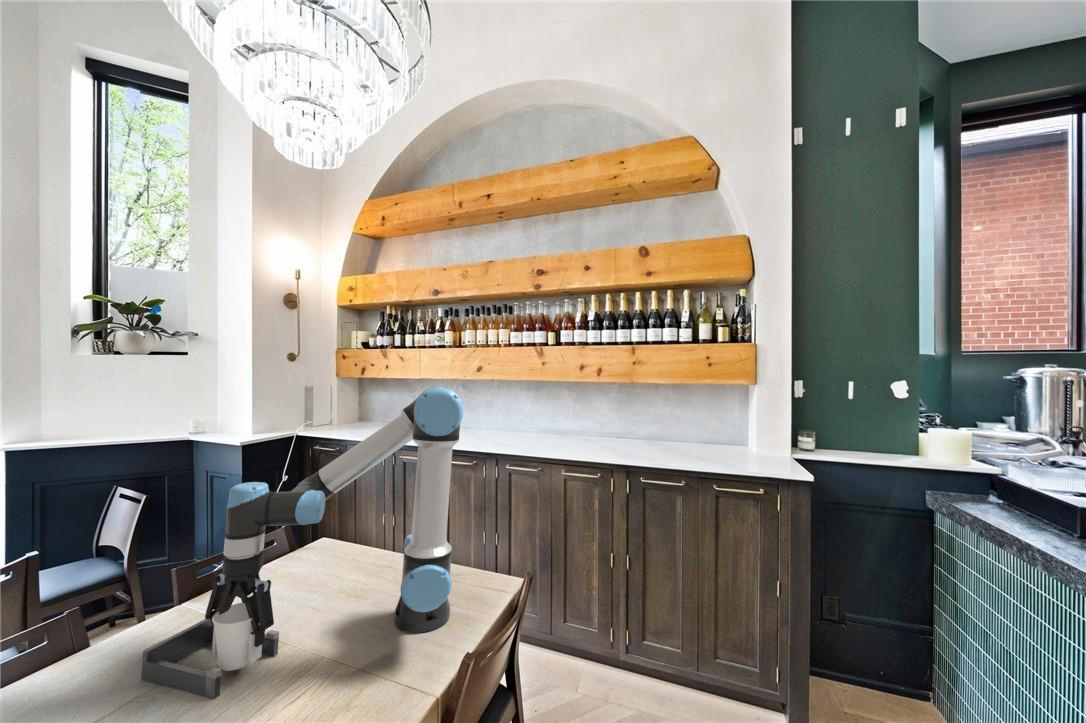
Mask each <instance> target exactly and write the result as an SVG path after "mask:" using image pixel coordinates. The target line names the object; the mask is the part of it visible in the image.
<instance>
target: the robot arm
mask: <svg viewBox="0 0 1086 723" xmlns="http://www.w3.org/2000/svg"><path fill="white" fill-rule="evenodd" d="M463 417H464V407H463V403H462V401H461V399H460V397H459V395H458V394H457V393H456V392H455V391H454V390H452V389H450V388H448V387H442V386H434V387H430V388H427V389H426V390H424V391H422V392H421V393H420V394H419V395H418V396H417V397H416V399H415V400H413V401H412V402H411V403H409V404H408V405H407V406H405V407H404V408H403V409H401V412H400V415H399V416H397V417H396V418H394V419H393V420H391V421H390V422H388V423H387V424H386V425H384V426H382V427H381V428H380V429H378V430H376V431H375V432H373V433H371V435H369V436H367V437H366V438H365V439H363V440H362V441H360V442H359V443H357V444H355V446H353V447H351V448H350V449H348V450H347V451H346V452H344V453H343V454H341V455H340V456H338V457H337V458H335V459H334V460H332V461H331V462H329V463H328V464H326V465H325V466H323V467H322V468H320V469H319V470H318V471H316V472H314V473H313V474H312V475H310V476H308V477H305V478H304V479H303V480H302V481H300V482H298V483H297V485H296V487H294V488H293V489H292V490H289V491H270V489H269V484H268V483H266V482H262V481H260V482H259V481H252V482H251V481H249V482H243V483H239V484H236V485H233V486H232V487H231V488H230V489H229V492H228V500H227V505H226V520H225V521H226V522H225V536H224V546H223V552H222V553H223V555H224V557H223V560H222V571H221V573H220V574H217V575H215V576H213V579H212V590H211V593H210V597H209V600H208V602H207V603H208V604H207V608H206V611H205V614H204V619H210V620H211V623H212V624H213V626H212V637H213V643H211V644H212V647H211V656H217V655H218V654H217V645H216V637H215V630H214V623H213V621H212V618H213V616H214V615H215V614H216V613H217V612H219V615H220V614H223V613H225V612H226V611H228V610H229V609H230V607H231V605H233V603H234V601H235V599H236V597H237V598H239V599H240V601H241V603H245V606H246V609H247V612H248V615H249V619H252V620H251V625H252V628H253V631H252V632H250V636H249V650H248V664H247V665H252V664H253V663H255V662H256V661H257V660H259V659H260V658H262V654H261V652H262V644H263V643H264V636H265V634H266V630H267V629H269V628H271V627H272V626H274V624H275V620H274V619H275V618H274V614H273V613H274V612H273V604H272V596H271V586H272V581H271V580H270V579H267V580H265V581H264V580H261V577H260V572H261V569H262V568H263V565H264V551H263V550H264V548H265V535H266V527H272V526H274V527H275V526H276V527H277V526H296V525H297V526H298V525H299V526H300V525H301V526H306V525H310V524H318V523H320V522H321V521H322V520H323V517H324V514H325V509H326V500H328V499H330V498H331V497H332V496H334V495H335V494H336V493H338V492H340V490H342V489H343V488H345V487H346V486H348V485H349V484H351V483H352V482H354V480H357V479H358V478H359V477H361V476H362V475H364V474H365V473H367V472H368V471H369V470H371V469H372V468H373V467H375V466H376V465H378V464H379V463H381V462H383V461H384V460H385V459H387V458H388V457H389V456H391V455H393V454H394V453H395V452H397V451H398V450H399V449H401V448H402V447H403V446H405V445H407V444H408V443H410V442H411V441H413V442H414V444H416V445H417V457H416V458H417V459H416V460H417V461H416V473H415V485H414V487H415V488H414V498H413V499H414V501H413V512H412V513H413V514H412V525H411V533H410V534H408V535H407V536H406V537H405V538H404V544H403V564H402V573H401V574H402V576H401V584H400V588H399V589H400V596H399V599H398V602H397V605H396V607H395V608H394V614H393V616H394V617H393V623H394V626H395V628H397V629H398V630H401V631H402V632H405V633H410V634H411V633H413V634H419V633H427V632H431V631H434V630H437V629H439V628H440V627H443V626H444V625H446V623H447V622H448V621H449V620H450V618H449V617H451V604H450V601H449V595H450V594H451V593H450V592H451V589H452V585H453V584H452V583H453V582H452V577H451V562H452V549H453V548H452V545H451V544H450V543H449V542H448V540H447V539H448V538H447V533H448V521H449V520H448V517H449V504H450V490H451V475H452V474H451V473H452V462H453V461H452V460H453V448H454V446H455V445H456V444H457V443H458V442H459V441H460V431H461V422H462V421H463ZM258 624H259V625H258Z"/></svg>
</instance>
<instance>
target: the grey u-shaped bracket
mask: <svg viewBox="0 0 1086 723" xmlns="http://www.w3.org/2000/svg"><path fill="white" fill-rule="evenodd" d="M212 626H213V624H212V623H211V620H210V619H205V618H204V619H202V620H200V621H199V622H197V623H195V624H193V625H191V626H189V627H187V628H185V629H183V630H181V631H179V632H178V633H175V634H174V635H171V636H170V637H168V638H165V639H164V640H162V641H159V642H158V643H156V644H154V645H152V646H149V648H146V649H145V650H143V651H142V660H141V674H140V681H143V682H147V683H149V684H150V683H151V684H154V685H159V686H161V687H166V688H170V689H175V690H178V691H181V692H185V693H188V694H192V695H196V696H199V697H200V696H201V697H204V698H207V699H211V700H215V699H217V698H219V697H220V695H221V685H222V684H221V683H222V682H221V681H222V671H223V670H222V669H220V668H219V667H215V666H212V667H210V668H208V669H207V670H202V669H198V668H193V667H190V666H185V665H182V664H177V663H179V662H180V661H182V660H184V659H186V658H188V657H190V656H191V655H193V654H194V653H196V652H198V651H199V650H202V649H203V648H204V647H207V646H208V645H210V644H213V637H212ZM279 636H280V631H278V630H273V629H270V630H268V631H267V632H266V633H265V636H264V643H263V644H262V652H261V656H267V657H272V658H274V657H275V656H278V653H279V641H280V639H279V638H280V637H279Z"/></svg>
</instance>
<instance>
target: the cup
mask: <svg viewBox="0 0 1086 723" xmlns="http://www.w3.org/2000/svg"><path fill="white" fill-rule="evenodd" d="M251 620H252V619H249V615H248V612H247V609H246V606H245V603H242V602H238V603H235V604H232V605H231V607H230V609H229V610H228V611H226V612H225V613H223V614H220V615H219V612H217V613H216V614H215V615H214V616H213V618H212V621H213V623H214V630H215V637H216V645H217V654H216V655H217V661H218V668H219V669H222V670H221V671H224V672H230V671H237V670H240V669H242V668H244V667H245V666H247V665H249V664H248V650H249V636H250V632H252V631H253V628H252V625H251ZM258 625H259V624H258Z"/></svg>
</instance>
